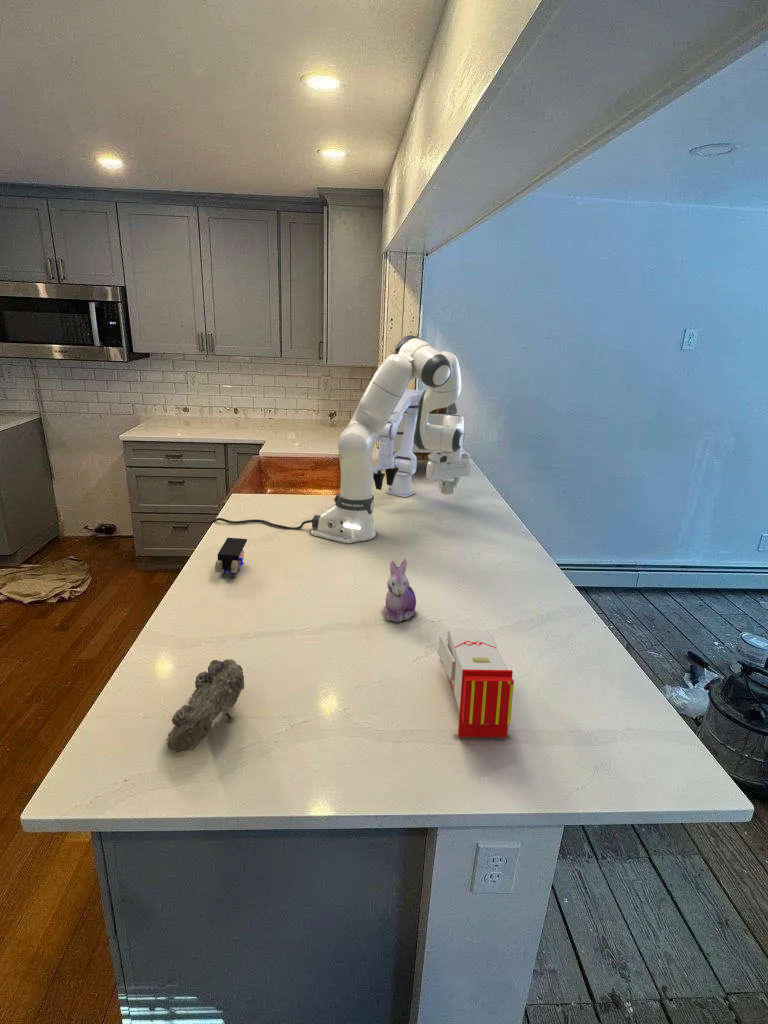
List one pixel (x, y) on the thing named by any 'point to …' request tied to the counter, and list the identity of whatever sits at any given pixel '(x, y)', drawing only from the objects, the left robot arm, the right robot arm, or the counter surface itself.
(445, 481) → the canister
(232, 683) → the fossil
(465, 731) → the toy
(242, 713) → the counter surface
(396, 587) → the figurine
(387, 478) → the right robot arm
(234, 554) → the figurine character
